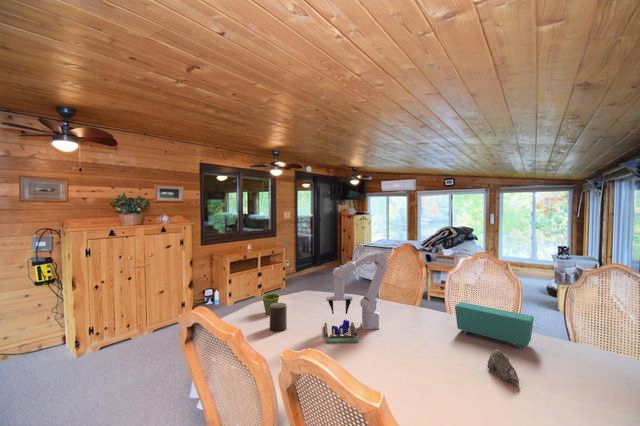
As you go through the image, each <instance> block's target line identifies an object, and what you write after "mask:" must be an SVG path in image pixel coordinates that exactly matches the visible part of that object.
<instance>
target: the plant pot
mask: <svg viewBox="0 0 640 426" xmlns="http://www.w3.org/2000/svg"><path fill="white" fill-rule="evenodd" d="M280 297H281V295H279V294H277V293H267V294H263V295H262V296H261V299H262V302H263V308H264V312H265V315H268V316H270V305H271V304H273V303H279V301H280V300H279V299H280Z"/></svg>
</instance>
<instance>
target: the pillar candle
mask: <svg viewBox="0 0 640 426" xmlns="http://www.w3.org/2000/svg"><path fill="white" fill-rule="evenodd" d="M287 306H288V305H287V304H286V303H284V302H278V303H273V304H271V305H270V315H269V330H270V331H271V332H273V333H282V332H285V331H286V330H287V327H288V323H287V322H288V321H287V317H288V316H287V313H288V312H287V311H288V310H287Z"/></svg>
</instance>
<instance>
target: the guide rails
mask: <svg viewBox="0 0 640 426" xmlns="http://www.w3.org/2000/svg"><path fill="white" fill-rule="evenodd" d="M350 325H351V329H352V332H353V336H357V337H358V332H357V329H356V326H355V324H354V322H353V321H351V322H350ZM328 332H329V331H328V324H327V322H324V335H325V338H326V337H329V336H328V335H329V333H328Z"/></svg>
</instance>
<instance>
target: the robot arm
mask: <svg viewBox="0 0 640 426" xmlns="http://www.w3.org/2000/svg"><path fill="white" fill-rule="evenodd" d="M387 260H388V257H387V255H386V254H385V252H382V251H378V250H375V249H374V250H371V251H368V252H367V253H366V254H364V255H363V256H361V257H360V258H358V259H356V260H355V261H352V260H350V261H346V263H345V264H343V265H339V267H335V268H334V269H333V271H332V275H333V292H334V293H333V295H332V296H326V297H325V298H326V299H325V300H326V302H328V305H329V307H330V309H331V314H332V315H334V301H335V302H338V301H339V302H340V301H345V314H347V315H348V312H349V307H350V305H351V302H352V301H353V296H352V295H345V277H346V276H348V275H349V274H351V273H353V272H355V271H356V269H357V268H358V267H360V266H362V265H365V264H366V263H368V262H371V263H374V265H375V267H376V269H375V272H374V275H373V277H372V280H371V283H370V285H369V288H368V291H367V293H365V294H364V296H363V298H362V299H361V300H360V302H359V304H360V307H361V309H362V310H361V317H362V319H361V322H360V326H361V327H362V330H379V329H380V315H379V311H377V303H378V299H377V296H378V293H379V292H380V291H379V290H380V288H381V285H382V282H383V281H384V277H385V274H386V273H387V269H388V262H387Z"/></svg>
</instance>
